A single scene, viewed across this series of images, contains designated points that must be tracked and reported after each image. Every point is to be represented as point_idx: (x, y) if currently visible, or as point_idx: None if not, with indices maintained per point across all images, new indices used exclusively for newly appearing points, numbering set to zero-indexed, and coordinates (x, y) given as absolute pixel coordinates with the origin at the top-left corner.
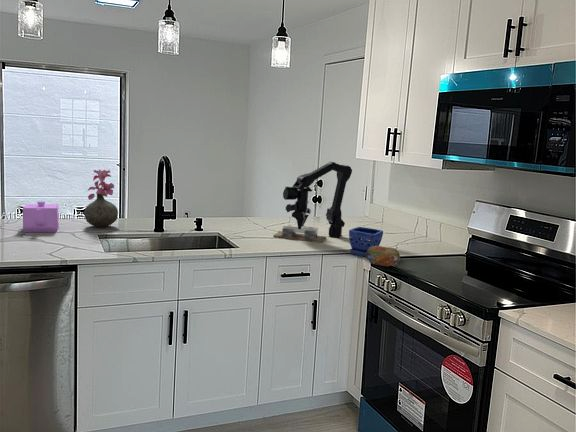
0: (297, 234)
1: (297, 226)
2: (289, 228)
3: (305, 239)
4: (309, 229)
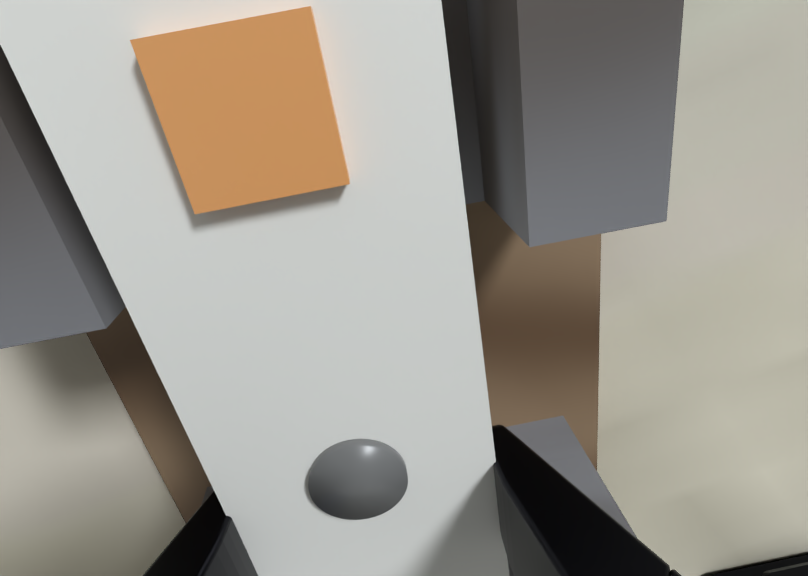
0: (472, 246)
1: (317, 451)
2: (32, 216)
3: (185, 509)
4: None
